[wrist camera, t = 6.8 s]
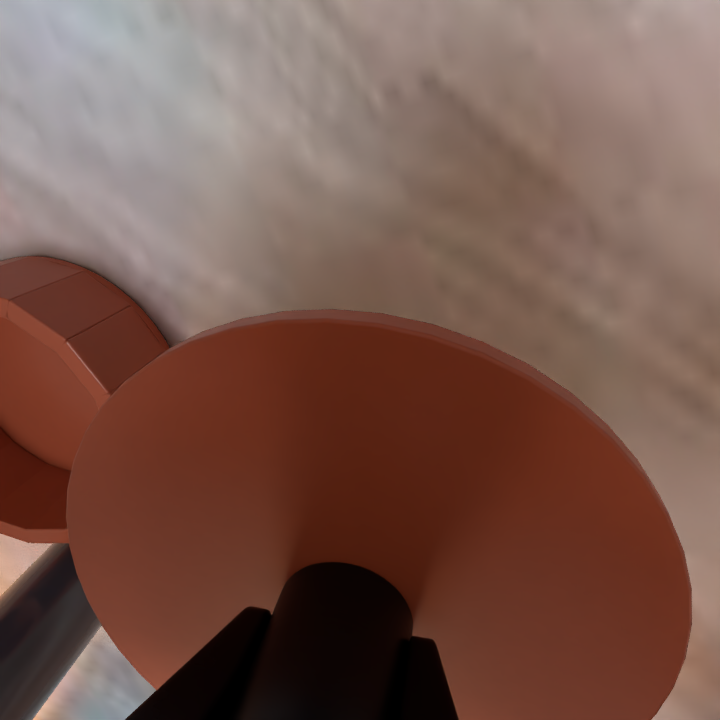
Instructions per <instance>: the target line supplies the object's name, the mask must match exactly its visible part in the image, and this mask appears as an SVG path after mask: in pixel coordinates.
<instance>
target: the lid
mask: <svg viewBox="0 0 720 720" xmlns="http://www.w3.org/2000/svg"><path fill="white" fill-rule="evenodd" d="M66 521H67V530H68V538H69V546H70V550H71V554H72V558H73V561H74V565H75V569H76V573H77V575H78V578H79V580H80V583H81V585H82V587H83V590H84V592H85V595H86V597H87V600H88V602H89V603H90V605H91V607H92V609H93V611H94V612H95V614H96V616H97V618H98V620H99V621H100V623H101V625H102V627H103V628H104V629H105V631H106V632H107V634H108V635H109V636H110V638H111V639H112V641H113V642H114V644H115V645H116V646H117V648H118V649H119V651H120V652H121V653H122V654H123V655H124V656H125V658H126V659H127V660H128V661H129V662H130V663H131V664H132V666H133V667H134V668H135V669H136V670H137V671H138V673H139V674H140V675H141V676H142V677H143V678H145V679H146V680H147V681H148V682H149V683H150V684H151V685H152V686H153V687H154V688H155V689H156V690H157V689H159V688H160V687H161V686H162V685H163V684H164V683H165V682H166V681H167V680H168V679H169V678H170V677H171V676H173V675H174V674H175V673H176V672H177V671H178V670H179V669H180V668H181V667H182V666H183V665H184V664H185V663H186V662H188V661H189V660H190V659H191V658H192V657H193V656H194V655H195V654H196V653H197V652H198V651H199V650H200V649H202V648H203V647H204V646H205V645H206V644H207V643H208V642H209V641H210V640H211V639H212V638H213V637H214V636H216V635H217V634H218V633H219V632H220V631H221V630H222V629H223V628H224V627H225V626H226V625H227V624H228V623H229V622H231V621H232V620H233V619H234V618H235V617H236V616H237V615H238V614H239V613H240V612H241V611H242V610H244V609H245V608H246V607H249V606H253V607H258V608H264V609H268V610H269V611H270V613H271V618H270V620H269V622H268V625H267V627H266V630H265V632H264V634H263V637H262V639H261V642H260V644H259V646H258V649H257V651H256V654H255V656H254V658H253V661H252V663H251V666H250V668H249V671H248V673H247V675H246V678H245V680H244V683H243V685H242V687H241V690H240V692H239V695H238V697H237V699H236V702H235V704H234V707H233V709H232V711H231V714H230V716H229V719H228V720H399V714H400V703H401V695H402V688H403V681H404V674H405V667H406V660H407V652H408V645H409V640H410V638H411V637H412V636H419V637H424V638H430V639H433V640H434V641H435V643H436V645H437V648H438V652H439V655H440V658H441V662H442V665H443V668H444V672H445V675H446V678H447V682H448V685H449V688H450V692H451V695H452V698H453V702H454V705H455V708H456V712H457V715H458V718H459V720H651V719H652V718H653V717H654V716H655V715H656V713H657V712H658V710H659V709H660V707H661V706H662V704H663V703H664V701H665V700H666V698H667V697H668V695H669V694H670V692H671V691H672V689H673V687H674V685H675V682H676V680H677V677H678V675H679V673H680V670H681V668H682V665H683V663H684V660H685V657H686V652H687V647H688V642H689V637H690V631H691V626H692V588H691V583H690V578H689V573H688V569H687V564H686V559H685V554H684V550H683V548H682V545H681V543H680V540H679V538H678V535H677V533H676V530H675V528H674V526H673V523H672V521H671V518H670V516H669V513H668V511H667V509H666V507H665V505H664V503H663V501H662V499H661V497H660V495H659V494H658V492H657V490H656V489H655V487H654V485H653V484H652V482H651V481H650V479H649V477H648V476H647V474H646V473H645V471H644V469H643V468H642V466H641V465H640V463H639V461H638V460H637V458H636V457H635V456H634V455H633V454H632V453H631V451H630V450H629V449H628V448H627V447H626V446H625V444H624V443H623V442H622V441H621V440H620V439H619V437H618V436H617V435H616V434H615V433H614V432H613V430H612V429H611V428H610V427H609V426H608V425H607V424H606V423H605V422H604V421H603V420H602V419H601V418H599V417H598V416H597V415H596V414H595V413H594V412H593V411H591V410H590V409H589V408H588V407H587V406H586V405H585V404H583V403H582V402H581V401H580V400H579V399H578V398H577V397H575V396H574V395H573V394H572V393H571V392H569V391H568V390H566V389H565V388H563V387H562V386H560V385H559V384H557V383H556V382H554V381H553V380H551V379H550V378H548V377H547V376H545V375H544V374H542V373H541V372H539V371H538V370H536V369H535V368H533V367H532V366H530V365H529V364H527V363H525V362H523V361H521V360H519V359H517V358H515V357H513V356H511V355H509V354H507V353H504V352H502V351H500V350H498V349H496V348H494V347H492V346H490V345H488V344H486V343H484V342H482V341H479V340H477V339H474V338H471V337H468V336H465V335H462V334H459V333H456V332H454V331H451V330H448V329H445V328H442V327H439V326H436V325H433V324H429V323H425V322H420V321H415V320H411V319H406V318H401V317H397V316H392V315H387V314H383V313H372V312H361V311H349V310H338V309H322V310H297V311H282V312H277V313H271V314H266V315H260V316H254V317H249V318H243V319H239V320H236V321H233V322H230V323H227V324H224V325H221V326H218V327H215V328H212V329H209V330H206V331H203V332H201V333H199V334H197V335H195V336H193V337H191V338H189V339H187V340H185V341H183V342H181V343H179V344H177V345H175V346H173V347H171V348H169V349H168V350H166V351H165V352H164V353H162V354H161V355H159V356H158V357H157V358H155V359H154V360H153V361H151V362H150V363H149V364H147V365H146V366H145V367H143V368H142V369H140V370H139V371H138V372H136V373H135V374H134V375H132V376H131V377H130V378H128V379H127V380H126V381H125V382H124V383H123V384H122V385H121V386H120V387H119V388H118V389H117V390H116V391H115V392H114V393H113V394H112V395H111V397H110V398H109V399H108V400H107V401H106V402H105V403H104V404H103V405H102V407H101V408H100V410H99V411H98V413H97V414H96V416H95V417H94V419H93V421H92V422H91V424H90V425H89V427H88V428H87V430H86V431H85V434H84V436H83V439H82V441H81V443H80V446H79V448H78V451H77V453H76V456H75V458H74V460H73V465H72V469H71V474H70V479H69V483H68V488H67V508H66Z"/></svg>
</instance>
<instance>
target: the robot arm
mask: <svg viewBox="0 0 720 720" xmlns="http://www.w3.org/2000/svg"><path fill="white" fill-rule="evenodd" d="M270 618H271V613H270V611H269V610H268V609H264V608H258V607H253V606H249V607H246V608H245V609H244V610H242V611H241V612H240V613H239V614H238V615H237V616H236V617H235V618H234V619H233V620H232V621H231V622H229V623H228V624H227V625H226V626H225V627H224V628H223V629H222V630H221V631H220V632H219V633H218V634H217V635H216V636H214V637H213V638H212V639H211V640H210V641H209V642H208V643H207V644H206V645H205V646H204V647H203V648H202V649H200V650H199V651H198V652H197V653H196V654H195V655H194V656H193V657H192V658H191V659H190V660H189V661H188V662H186V663H185V664H184V665H183V666H182V667H181V668H180V669H179V670H178V671H177V672H176V673H175V674H174V675H173V676H171V677H170V678H169V679H168V680H167V681H166V682H165V683H164V684H163V685H162V686H161V687H160V688H159V689H157V690H156V691H155V692H154V693H153V694H152V695H151V696H150V697H149V698H148V699H147V700H146V701H145V702H143V703H142V704H141V705H140V706H139V707H138V708H137V709H136V710H135V711H134V712H133V713H132V714H131V715H130V716H128V717H127V718H126V719H125V720H228V719H229V716H230V714H231V711H232V709H233V707H234V704H235V702H236V699H237V697H238V695H239V692H240V690H241V687H242V685H243V683H244V680H245V678H246V675H247V673H248V671H249V668H250V666H251V663H252V661H253V658H254V656H255V654H256V651H257V649H258V646H259V644H260V642H261V639H262V637H263V634H264V632H265V630H266V627H267V625H268V622H269V620H270ZM399 720H459V718H458V715H457V712H456V708H455V705H454V702H453V698H452V695H451V692H450V688H449V685H448V682H447V678H446V675H445V672H444V668H443V665H442V662H441V658H440V655H439V652H438V648H437V645H436V643H435V641H434V640H433V639H430V638H424V637H419V636H412V637H411V638H410V640H409V645H408V652H407V660H406V667H405V674H404V681H403V688H402V695H401V703H400V714H399Z"/></svg>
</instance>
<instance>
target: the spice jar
mask: <svg viewBox="0 0 720 720" xmlns="http://www.w3.org/2000/svg"><path fill="white" fill-rule="evenodd" d="M101 626H102V625H101V623H100V621H99V620H98V618H97V616H96V614H95V612H94V611H93V609H92V607H91V605H90V603H89V602H88V600H87V597H86V595H85V592H84V590H83V587H82V585H81V583H80V580H79V578H78V575H77V573H76V569H75V565H74V561H73V558H72V554H71V550H70V546H69V543H53V544H52V545H51V546H50V547H49V548H48V549H47V550H46V551H45V552H44V553H43V554H42V555H41V556H40V557H39V558H38V559H37V560H36V561H35V562H34V563H33V564H32V565H31V566H30V567H29V568H28V569H27V570H26V571H25V572H24V573H23V574H22V575H21V576H20V577H19V578H18V579H17V580H16V581H15V582H14V583H13V584H12V585H11V586H10V587H9V588H8V589H7V590H6V591H5V592H4V593H3V594H2V595H1V596H0V720H33V718H34V717H35V715H36V714H37V713H38V711H39V710H40V709H41V707H42V706H43V705H44V703H45V702H46V701H47V699H48V698H49V696H50V695H51V694H52V692H53V691H54V690H55V688H56V687H57V686H58V684H59V683H60V682H61V680H62V679H63V677H64V676H65V675H66V673H67V672H68V671H69V669H70V668H71V667H72V665H73V664H74V663H75V661H76V660H77V658H78V657H79V656H80V654H81V653H82V652H83V650H84V649H85V648H86V646H87V645H88V643H89V642H90V641H91V639H92V638H93V637H94V635H95V634H96V633H97V631H98V630H99V629H100V627H101Z"/></svg>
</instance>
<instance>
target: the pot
mask: <svg viewBox="0 0 720 720" xmlns="http://www.w3.org/2000/svg"><path fill="white" fill-rule="evenodd" d="M168 349H169V346H168V344H167V342H166V341H165V339H164V337H163V336H162V334H161V333H160V331H159V330H158V329H157V327H156V326H155V324H154V323H153V322H152V321H151V319H150V318H149V317H148V316H147V315H146V313H145V312H144V311H143V310H142V309H141V308H140V307H139V306H138V305H137V304H136V303H135V302H134V301H133V300H132V299H131V298H130V297H129V296H127V295H126V294H125V293H124V292H122V291H121V290H120V289H119V288H117V287H116V286H115V285H113V284H112V283H110V282H109V281H107V280H105V279H104V278H102V277H101V276H99V275H97V274H95V273H93V272H91V271H89V270H87V269H85V268H83V267H81V266H78V265H75V264H72V263H69V262H67V261H63V260H58V259H53V258H49V257H37V256H27V257H16V258H12V259H8V260H4V261H0V533H1V534H4V535H7V536H10V537H13V538H16V539H19V540H22V541H25V542H28V543H30V542H31V543H69V538H68V530H67V521H66V508H67V488H68V483H69V479H70V474H71V469H72V465H73V460H74V458H75V456H76V453H77V451H78V448H79V446H80V443H81V441H82V439H83V436H84V434H85V431H86V430H87V428H88V427H89V425H90V424H91V422H92V421H93V419H94V417H95V416H96V414H97V413H98V411H99V410H100V408H101V407H102V405H103V404H104V403H105V402H106V401H107V400H108V399H109V398H110V397H111V395H112V394H113V393H114V392H115V391H116V390H117V389H118V388H119V387H120V386H121V385H122V384H123V383H124V382H125V381H126V380H127V379H128V378H130V377H131V376H132V375H134V374H135V373H136V372H138V371H139V370H140V369H142V368H143V367H145V366H146V365H147V364H149V363H150V362H151V361H153V360H154V359H155V358H157V357H158V356H159V355H161V354H162V353H164V352H165V351H166V350H168Z"/></svg>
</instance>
